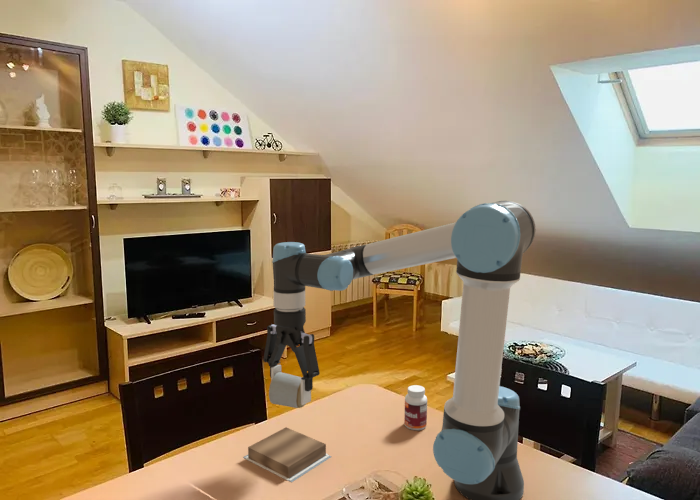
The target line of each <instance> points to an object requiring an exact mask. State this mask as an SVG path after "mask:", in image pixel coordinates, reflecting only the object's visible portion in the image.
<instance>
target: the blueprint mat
mask: <svg viewBox="0 0 700 500" xmlns="http://www.w3.org/2000/svg"><path fill="white" fill-rule="evenodd" d="M242 458H244V459H245V460H247V462H248V461H249V462H251V463H252V464H254V465H256V466H259V467H260V468H262V469H264V470H267V471H269V472H270V473H272V474H275V475H276V476H278V477H280V478H282V479H284V480H286V481H288V482H290V483H293V482H294V481H296V480H298V479H299V478H301V477H302V476H304V475H306V474H307V473H309V472H310V471H312V470H313V469H315V468H316V467H319V466H320V465H321V464H323V463H324V462H326V461H327V460H329V459H331V458H332V456H331V455H329V454H328V453H327V452H326V456H324V457H322V458H321V459H319V460H318V461H316V462H315V463H313V464H311V465H310V466H308V467H307V468H305V469H303V470H302V471H300V472H299V473H297V474H296V475H294V476H292V477H291V478H287V477H285V476H283V475H281V474H279V473H277V472H275V471H273V470H271V469H269V468H267V467H265V466H263V465H261V464H259V463H257V462H255V461H253V460H251V459H249V458H248V454H246V455H244V456H243V457H242Z"/></svg>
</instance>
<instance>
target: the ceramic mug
mask: <svg viewBox="0 0 700 500" xmlns="http://www.w3.org/2000/svg"><path fill="white" fill-rule="evenodd" d="M302 377H303V376H302ZM302 377H301V376H297V375H293V374H290V373H286V372H282V371H281V372H278V373H276V374H275V375H274V377H273V378H272V381H270V384H269V389H268V398H269V401H270V403H271V404H273V405H278V406H284V407H290V408H294V409H302V408H303V407H304V406H305V405H306V404H304V405H302V404H301V378H302Z"/></svg>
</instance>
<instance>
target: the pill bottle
mask: <svg viewBox="0 0 700 500" xmlns="http://www.w3.org/2000/svg"><path fill="white" fill-rule="evenodd" d="M425 393H426V389H425V387H424V386H422V385H417V384H414V385H410V386H408V387H407V394H406V395H405V397H404V419H403V420H404V422H403V423H404V427H405V428H407V429H409V430H412V431H422V430H424V429H426V428H427V426H428V425H427V423H428V422H427V420H428V398H427V395H425Z"/></svg>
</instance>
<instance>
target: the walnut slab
mask: <svg viewBox="0 0 700 500" xmlns="http://www.w3.org/2000/svg"><path fill="white" fill-rule="evenodd" d="M326 445H327V444H326V443H324V442H322V441H319V440H318V439H315V438H313V437H310V436H308V435H305V434H303V433H300V432H299V431H296V430H295V429H292V428H289V427H287V426H286V427H284V428H282V429H280V430H278V431H276V432H274V433H273V434H270V435H269V436H267V437H265V438H263V439H261V440H260V441H257V442H255V443H254V444H251V445H250V446H248V447H247V452H248V454H247V455H248V458H249V459H251V460H253V461H255V462H257V463H259V464H261V465H263V466H265V467H267V468H269V469H271V470H273V471H275V472H277V473H279V474H281V475H283V476H285V477H287V478H291V477H292V476H294V475H296V474H297V473H299V472H300V471H302V470H303V469H305V468H307V467H308V466H310V465H311V464H313V463H315V462H316V461H318V460H319V459H321V458H322V457H324V456H326V453H327V446H326Z"/></svg>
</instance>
